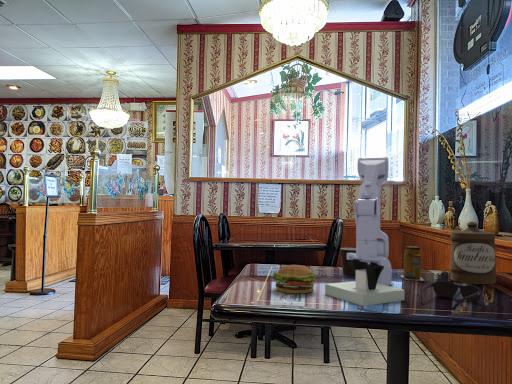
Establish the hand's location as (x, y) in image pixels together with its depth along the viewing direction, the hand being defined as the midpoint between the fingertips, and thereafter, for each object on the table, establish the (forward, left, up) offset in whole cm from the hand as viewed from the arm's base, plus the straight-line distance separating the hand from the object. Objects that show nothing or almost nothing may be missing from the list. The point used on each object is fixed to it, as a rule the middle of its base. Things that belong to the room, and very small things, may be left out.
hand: (366, 287), depth 113 cm
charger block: (0, 0, -2) cm, 2 cm away
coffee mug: (-25, -35, -4) cm, 43 cm away
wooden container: (-59, -6, -4) cm, 59 cm away
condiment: (-42, -19, -4) cm, 46 cm away
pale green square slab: (-2, -3, -3) cm, 5 cm away
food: (+11, -20, -4) cm, 23 cm away
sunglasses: (-19, +12, -4) cm, 23 cm away
